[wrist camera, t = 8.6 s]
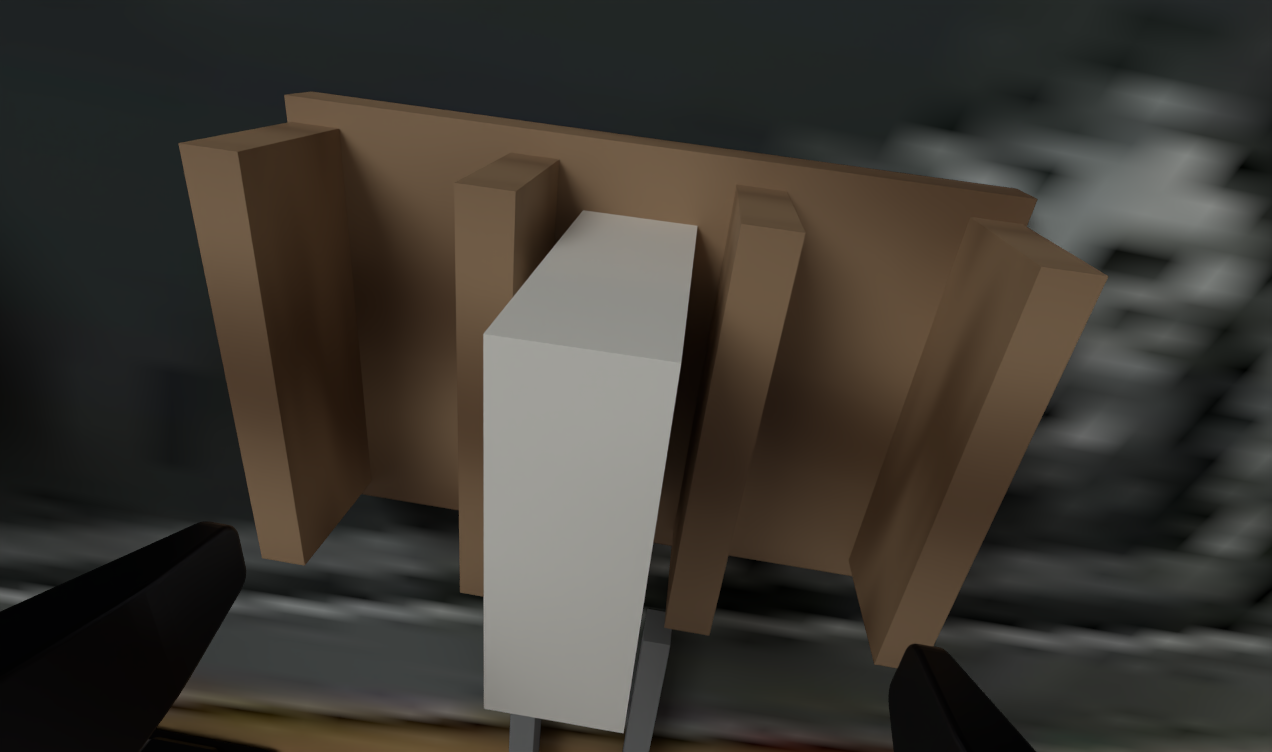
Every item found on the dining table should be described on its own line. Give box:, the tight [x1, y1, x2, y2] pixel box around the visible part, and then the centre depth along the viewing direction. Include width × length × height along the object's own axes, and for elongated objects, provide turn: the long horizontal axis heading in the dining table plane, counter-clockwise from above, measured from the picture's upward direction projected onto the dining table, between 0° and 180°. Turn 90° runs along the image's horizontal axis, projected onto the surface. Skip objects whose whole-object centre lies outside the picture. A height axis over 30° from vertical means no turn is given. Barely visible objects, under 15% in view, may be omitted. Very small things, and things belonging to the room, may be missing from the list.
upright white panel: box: [483, 210, 697, 733], centre depth 12 cm, size 7×2×6 cm, turn 174°
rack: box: [179, 92, 1108, 668], centre depth 14 cm, size 10×15×4 cm, turn 83°
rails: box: [509, 609, 672, 752], centre depth 21 cm, size 8×5×1 cm, turn 173°
